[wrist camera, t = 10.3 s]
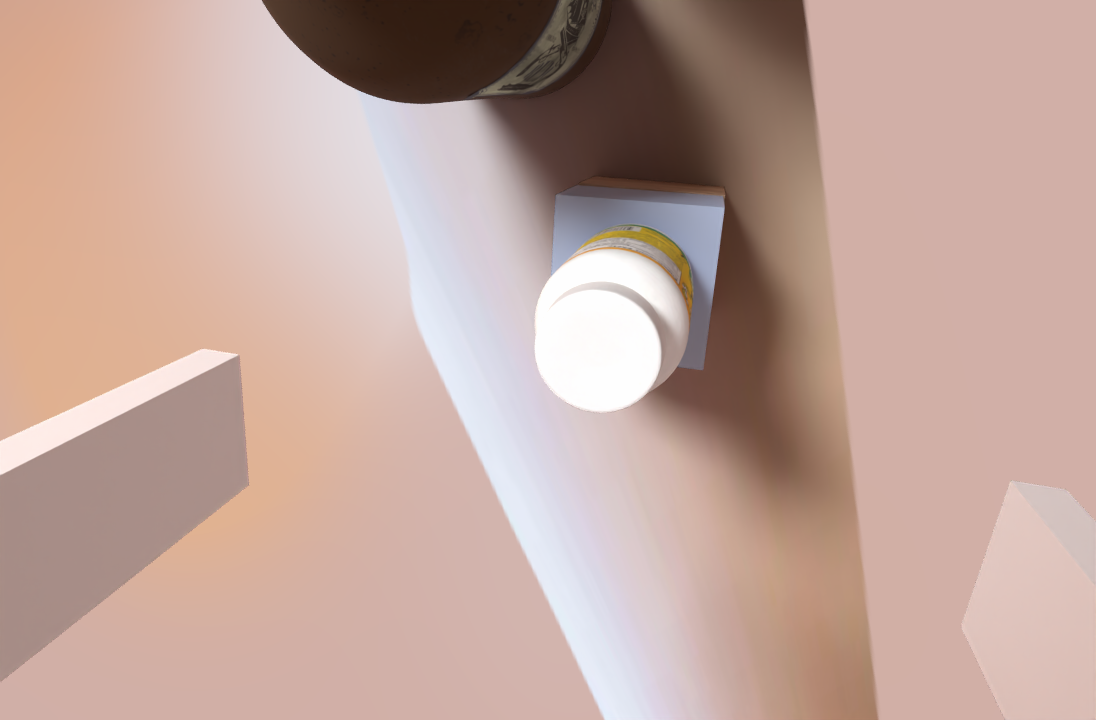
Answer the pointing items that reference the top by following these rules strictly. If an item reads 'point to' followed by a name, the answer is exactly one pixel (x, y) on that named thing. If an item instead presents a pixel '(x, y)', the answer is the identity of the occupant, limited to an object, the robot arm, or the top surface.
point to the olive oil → (447, 44)
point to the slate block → (672, 213)
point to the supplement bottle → (614, 318)
